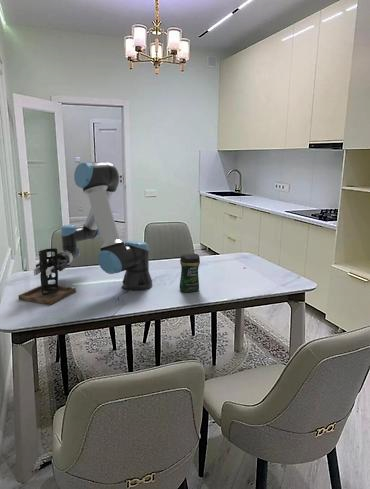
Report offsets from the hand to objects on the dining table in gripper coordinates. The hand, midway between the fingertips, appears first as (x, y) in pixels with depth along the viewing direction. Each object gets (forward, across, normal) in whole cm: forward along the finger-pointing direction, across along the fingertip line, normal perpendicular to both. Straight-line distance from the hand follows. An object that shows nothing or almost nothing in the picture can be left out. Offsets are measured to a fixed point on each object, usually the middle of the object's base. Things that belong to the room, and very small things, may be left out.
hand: (40, 272), depth 167 cm
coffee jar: (-22, -66, -13) cm, 70 cm away
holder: (-5, 0, -11) cm, 12 cm away
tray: (-5, 0, -13) cm, 14 cm away
